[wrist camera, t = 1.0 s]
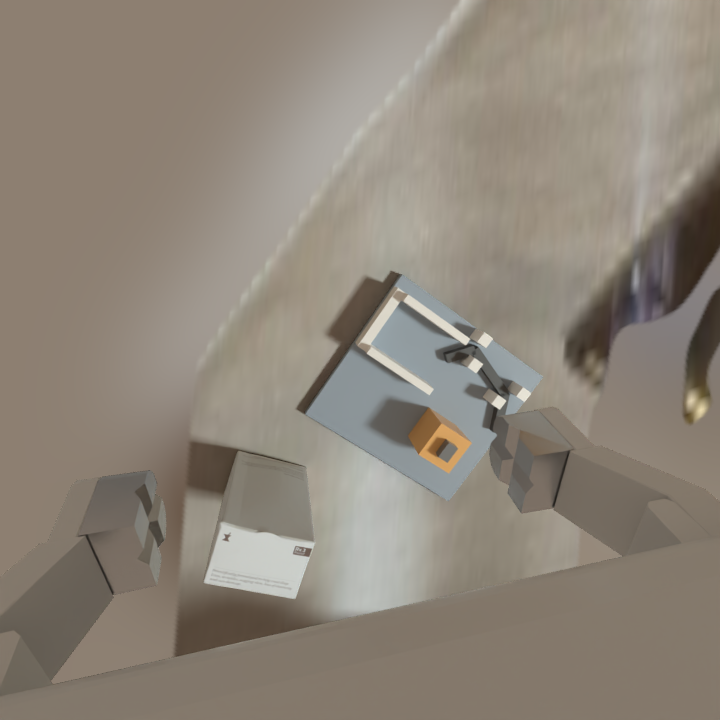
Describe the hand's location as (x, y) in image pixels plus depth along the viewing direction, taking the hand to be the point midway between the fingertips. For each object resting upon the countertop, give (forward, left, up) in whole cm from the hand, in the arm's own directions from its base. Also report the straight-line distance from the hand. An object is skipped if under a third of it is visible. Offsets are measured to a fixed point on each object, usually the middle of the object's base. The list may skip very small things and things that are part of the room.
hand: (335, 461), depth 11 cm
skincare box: (-7, +20, -39) cm, 44 cm away
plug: (-19, +5, -38) cm, 43 cm away
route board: (-16, +2, -39) cm, 42 cm away
